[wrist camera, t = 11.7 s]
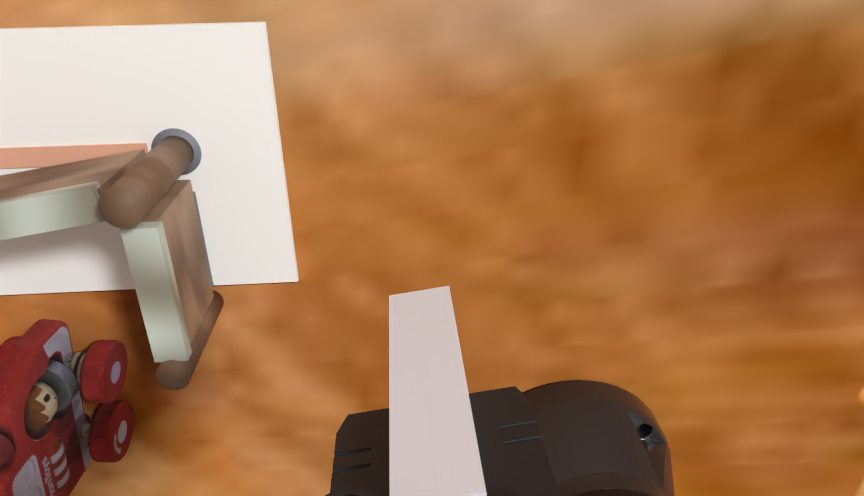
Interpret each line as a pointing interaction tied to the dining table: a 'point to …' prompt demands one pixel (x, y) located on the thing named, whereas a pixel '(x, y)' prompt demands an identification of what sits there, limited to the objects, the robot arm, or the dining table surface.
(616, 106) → the dining table surface
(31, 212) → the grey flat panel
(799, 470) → the dining table surface
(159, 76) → the card
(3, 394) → the toy fire truck
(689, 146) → the dining table surface
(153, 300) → the fence fixed section
